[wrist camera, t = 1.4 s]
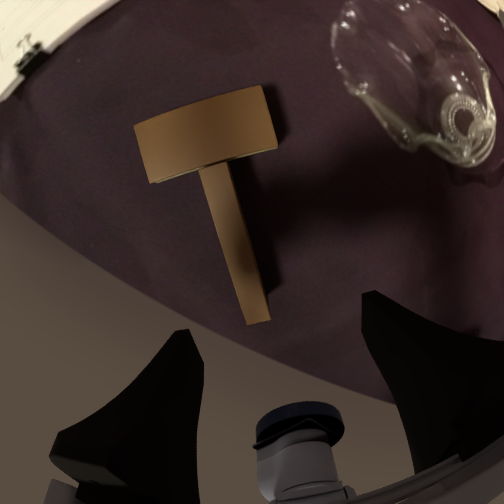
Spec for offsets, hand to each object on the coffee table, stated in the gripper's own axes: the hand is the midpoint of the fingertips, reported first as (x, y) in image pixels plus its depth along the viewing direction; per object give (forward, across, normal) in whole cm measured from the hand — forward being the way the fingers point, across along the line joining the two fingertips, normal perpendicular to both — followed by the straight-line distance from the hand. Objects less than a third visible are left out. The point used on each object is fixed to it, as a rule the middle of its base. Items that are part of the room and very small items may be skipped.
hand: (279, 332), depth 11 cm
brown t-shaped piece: (+10, +2, -3) cm, 10 cm away
